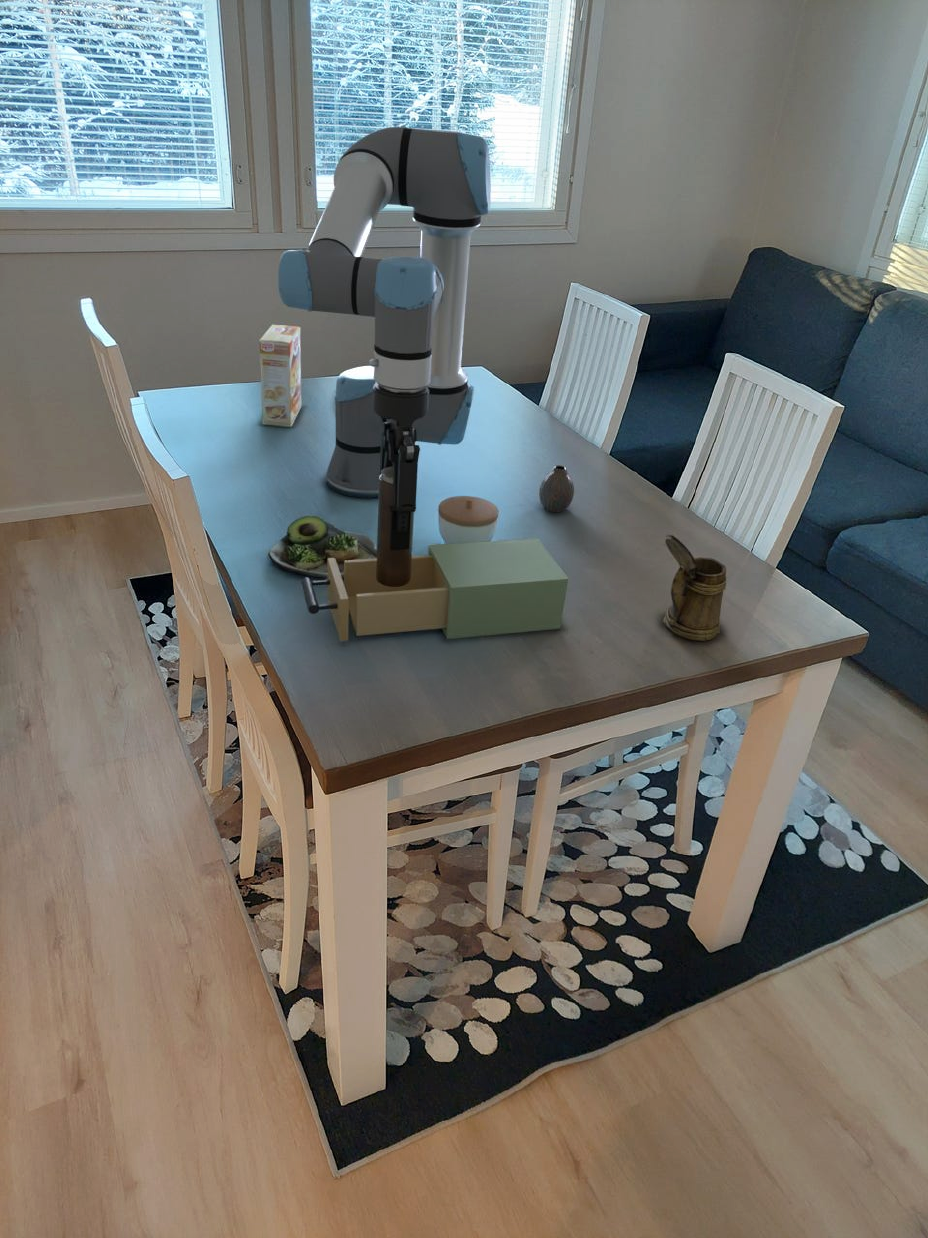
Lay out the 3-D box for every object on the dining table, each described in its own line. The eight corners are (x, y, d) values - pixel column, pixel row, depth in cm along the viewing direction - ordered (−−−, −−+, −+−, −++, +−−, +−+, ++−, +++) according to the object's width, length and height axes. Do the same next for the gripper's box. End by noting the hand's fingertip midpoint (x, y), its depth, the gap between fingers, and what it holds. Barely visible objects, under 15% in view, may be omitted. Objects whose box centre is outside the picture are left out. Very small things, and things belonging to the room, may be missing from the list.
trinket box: (501, 541, 161) (506, 494, 156) (483, 566, 152) (489, 517, 147) (447, 528, 163) (451, 482, 158) (427, 552, 154) (430, 504, 149)
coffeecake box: (291, 427, 201) (289, 342, 191) (261, 425, 201) (257, 339, 191) (302, 406, 214) (301, 326, 203) (274, 404, 214) (271, 323, 203)
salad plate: (403, 547, 155) (404, 524, 153) (364, 593, 141) (364, 568, 138) (305, 525, 159) (304, 502, 157) (257, 568, 145) (255, 543, 142)
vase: (569, 517, 172) (576, 476, 167) (535, 512, 173) (540, 471, 168) (572, 503, 178) (579, 463, 173) (539, 498, 178) (545, 458, 174)
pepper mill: (373, 571, 133) (376, 457, 123) (406, 568, 134) (411, 456, 124) (379, 588, 128) (383, 472, 118) (413, 585, 130) (420, 470, 120)
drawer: (310, 644, 126) (310, 601, 122) (299, 600, 136) (299, 559, 132) (454, 631, 132) (458, 590, 128) (434, 590, 142) (437, 551, 138)
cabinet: (447, 639, 131) (451, 587, 127) (425, 593, 142) (428, 544, 137) (560, 628, 137) (568, 578, 132) (530, 585, 147) (537, 538, 143)
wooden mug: (630, 622, 140) (652, 522, 130) (694, 607, 146) (719, 510, 136) (665, 652, 133) (690, 548, 124) (730, 634, 139) (760, 535, 130)
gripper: (360, 363, 121) (358, 512, 134) (388, 408, 107) (382, 571, 119) (413, 363, 123) (405, 510, 136) (446, 407, 109) (435, 567, 121)
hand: (394, 538), depth 128 cm, fingers closed on pepper mill, 5 cm apart
